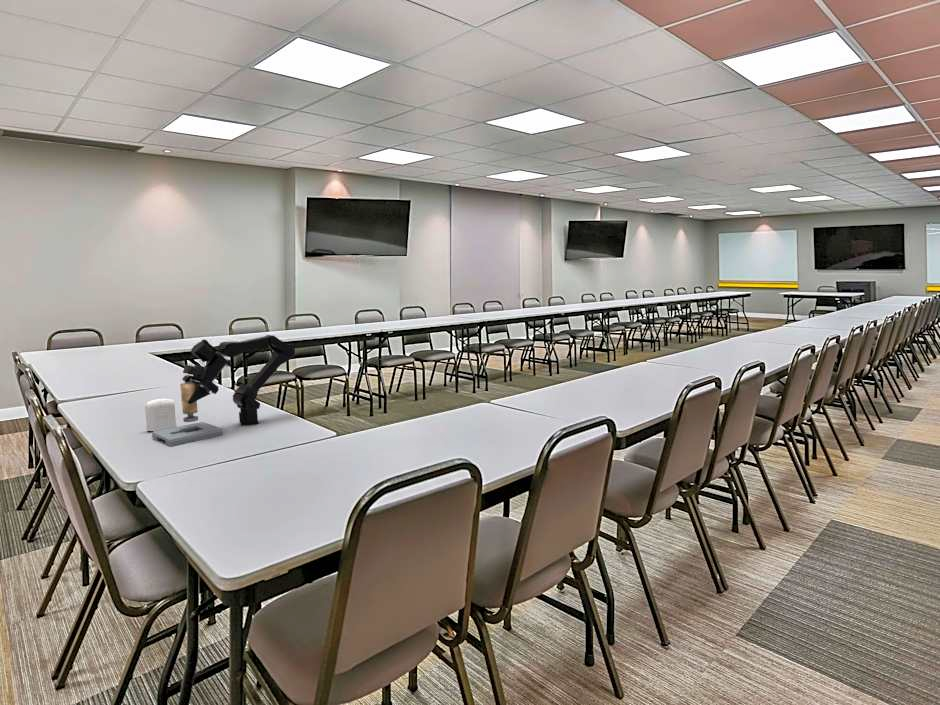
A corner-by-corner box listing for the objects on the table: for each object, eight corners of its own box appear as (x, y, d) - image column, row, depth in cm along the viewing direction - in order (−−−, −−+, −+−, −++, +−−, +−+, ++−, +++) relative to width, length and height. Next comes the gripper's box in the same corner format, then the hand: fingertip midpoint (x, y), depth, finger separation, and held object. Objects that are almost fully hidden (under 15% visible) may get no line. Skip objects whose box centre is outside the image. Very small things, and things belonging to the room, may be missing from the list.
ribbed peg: (200, 418, 220) (197, 382, 218) (193, 422, 215) (190, 385, 213) (188, 418, 220) (184, 382, 218) (180, 422, 215) (177, 385, 213)
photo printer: (175, 426, 232) (173, 396, 230) (177, 428, 228) (174, 398, 227) (146, 430, 226) (143, 399, 225) (147, 433, 223) (144, 401, 221)
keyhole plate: (203, 427, 229) (202, 421, 229) (222, 434, 219) (222, 428, 219) (152, 438, 215) (151, 432, 215) (170, 446, 205) (169, 439, 205)
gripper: (185, 354, 223) (157, 387, 216) (207, 358, 211) (179, 393, 204) (207, 371, 230) (181, 403, 223) (230, 376, 218) (203, 410, 211)
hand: (185, 402), depth 215 cm, fingers closed on ribbed peg, 5 cm apart
